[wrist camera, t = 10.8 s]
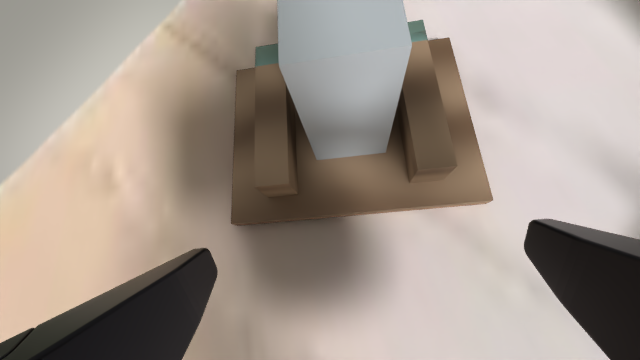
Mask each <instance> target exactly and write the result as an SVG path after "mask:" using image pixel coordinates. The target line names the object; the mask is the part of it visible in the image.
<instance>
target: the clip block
mask: <svg viewBox="0 0 640 360" xmlns="http://www.w3.org/2000/svg"><path fill="white" fill-rule="evenodd" d="M277 6H278V56H279V67H280V70H281V72H282V75H283V77H284V80H285V82H286V85H287V87H288V90H289V92H290V95H291V97H292V100H293V102H294V105H295V107H296V110H297V112H298V115H299V117H300V120H301V122H302V125H303V127H304V130H305V132H306V134H307V137H308V139H309V142H310V144H311V147H312V149H313V152H314V154H315V157H316V159H317V160H324V159H333V158H342V157H351V156H360V155H369V154H378V153H386V149H387V145H388V141H389V137H390V133H391V129H392V125H393V121H394V117H395V113H396V109H397V105H398V101H399V96H400V92H401V88H402V84H403V80H404V76H405V72H406V68H407V64H408V60H409V56H410V52H411V48H412V42H411V37H410V32H409V28H408V23H407V18H406V14H405V9H404V4H403V0H277Z"/></svg>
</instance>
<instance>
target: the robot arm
mask: <svg viewBox="0 0 640 360" xmlns="http://www.w3.org/2000/svg"><path fill="white" fill-rule="evenodd" d="M524 250H525V252H526V255H527V256H528V258H529V259H530V260H531V262H532V263H533V265H534V266H535V267H536V269H537V270H538V272H539V273H540V275H541V276H542V277H543V279H544V280H545V282H546V283H547V284H548V286H549V287H550V289H551V290H552V291H553V293H554V294H555V295H556V297H557V298H558V299H559V301H560V302H561V303H562V304H563V306H564V307H565V308H566V309H567V310H568V312H569V313H570V314H571V315H572V316H573V317H574V319H575V320H576V321H577V322H578V323H579V324H580V325H581V327H582V328H583V329H584V330H585V331H586V332H587V333H588V335H589V336H590V337H591V338H592V339H593V340H594V342H595V343H596V344H597V345H598V346H599V347H600V348H601V350H602V351H603V352H604V353H605V354H606V355H607V356H608V358H609V359H610V360H640V240H639V239H635V238H630V237H626V236H622V235H617V234H613V233H609V232H604V231H600V230H596V229H591V228H587V227H583V226H579V225H574V224H570V223H566V222H561V221H557V220H553V219H538V220H532V221H531V222H530V223H529V226H528V230H527V234H526V238H525V242H524ZM216 278H217V267H216V265H215V262H214V260H213V258H212V255H211V253H210V251H209V250H208V249H207V248H200V249H193V250H191V251H189V252H187V253H185V254H183V255H181V256H179V257H177V258H175V259H173V260H171V261H168V262H166V263H164V264H162V265H160V266H158V267H156V268H154V269H152V270H150V271H148V272H146V273H144V274H142V275H140V276H138V277H136V278H134V279H132V280H130V281H128V282H126V283H124V284H122V285H119V286H117V287H115V288H113V289H111V290H109V291H107V292H105V293H103V294H101V295H99V296H97V297H95V298H93V299H91V300H89V301H87V302H85V303H83V304H81V305H79V306H77V307H75V308H73V309H70V310H68V311H66V312H64V313H62V314H60V315H58V316H56V317H54V318H52V319H50V320H48V321H46V322H44V323H42V324H40V325H38V326H37V327H36V328H30V329H28V330H26V331H24V332H22V333H20V334H18V335H16V336H14V337H12V338H10V339H8V340H6V341H4V342H2V343H0V360H182V358H183V356H184V354H185V352H186V350H187V348H188V346H189V344H190V342H191V340H192V338H193V336H194V334H195V332H196V330H197V327H198V325H199V323H200V321H201V318H202V316H203V313H204V311H205V308H206V305H207V303H208V300H209V297H210V294H211V292H212V289H213V286H214V283H215V281H216Z"/></svg>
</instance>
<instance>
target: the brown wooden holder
mask: <svg viewBox="0 0 640 360" xmlns="http://www.w3.org/2000/svg"><path fill="white" fill-rule="evenodd" d="M407 23H408V28H409V32H410V37H411V42H412V48H411V52H410V56H409V60H408V64H407V68H406V72H405V76H404V80H403V84H402V88H401V92H400V96H399V101H398V105H397V109H396V113H395V117H394V121H393V125H392V129H391V133H390V137H389V141H388V145H387V149H386V153H378V154H369V155H360V156H351V157H342V158H333V159H324V160H317V159H316V157H315V154H314V152H313V149H312V147H311V144H310V142H309V139H308V137H307V134H306V132H305V130H304V127H303V125H302V122H301V120H300V117H299V115H298V112H297V110H296V107H295V105H294V102H293V100H292V97H291V95H290V92H289V90H288V87H287V85H286V82H285V80H284V77H283V75H282V72H281V70H280V67H279V56H278V44H273V45H266V46H260V47H256V59H255V68H250V69H244V70H237V74H236V101H235V129H234V156H233V184H232V211H231V224H234V225H237V226H240V225H251V224H263V223H274V222H285V221H297V220H308V219H319V218H330V217H342V216H353V215H364V214H376V213H387V212H398V211H409V210H421V209H432V208H443V207H454V206H466V205H477V204H486V203H488V202H490V201H492V200H493V197H492V193H491V190H490V186H489V182H488V179H487V175H486V171H485V168H484V164H483V160H482V157H481V153H480V149H479V145H478V142H477V138H476V134H475V131H474V127H473V123H472V120H471V116H470V112H469V109H468V105H467V101H466V98H465V94H464V90H463V86H462V83H461V79H460V75H459V72H458V68H457V64H456V61H455V57H454V53H453V50H452V46H451V42H450V39H449V38H443V39H437V40H430V41H428V39H427V35H426V31H425V27H424V23H423V20H419V21H412V22H407Z"/></svg>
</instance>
